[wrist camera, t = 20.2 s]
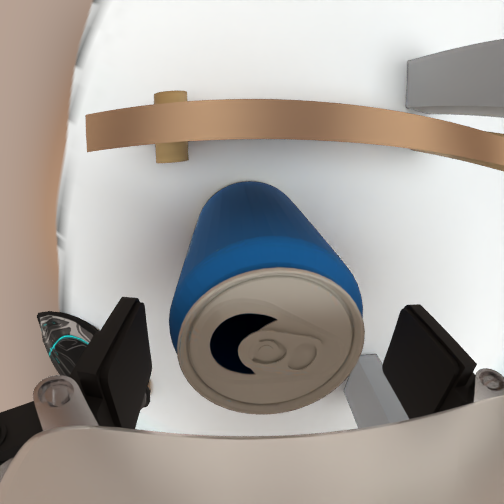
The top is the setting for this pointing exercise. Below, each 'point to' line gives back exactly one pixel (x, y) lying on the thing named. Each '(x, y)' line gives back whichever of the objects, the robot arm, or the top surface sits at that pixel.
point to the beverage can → (263, 305)
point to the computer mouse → (68, 341)
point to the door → (283, 127)
